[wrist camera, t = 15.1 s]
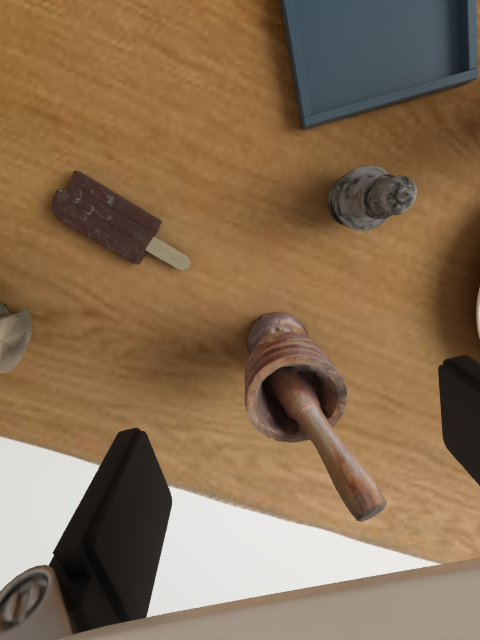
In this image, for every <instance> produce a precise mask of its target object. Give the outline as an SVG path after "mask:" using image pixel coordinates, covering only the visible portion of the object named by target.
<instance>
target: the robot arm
mask: <svg viewBox="0 0 480 640" xmlns="http://www.w3.org/2000/svg"><path fill="white" fill-rule="evenodd" d="M438 375H439V389H440V403H441V418H442V432H443V440H444V443H445V445H446V447H447V449H448V450H449V451H450V453H451V454H452V455H453V456H454V457H455V458H456V459H457V460H458V462H459V463H460V464H461V465H462V466H463V467H464V468H465V470H466V471H467V472H468V473H469V474H470V475H471V476H472V478H473V479H474V480H475V481H476V482H477V483H478V484H479V485H480V363H479V362H477V361H475V360H474V359H472V358H471V357H469V356H467V355H462V356H458V357H453V358H449V359H445V360H444V361H443V365H440V366H439V368H438ZM171 506H172V497H171V493H170V490H169V488H168V485H167V483H166V480H165V478H164V476H163V473H162V471H161V468H160V466H159V463H158V461H157V458H156V456H155V453H154V451H153V449H152V446H151V444H150V441H149V439H148V436H147V434H146V432H145V431H140V429H139V428H133V429H128V430H124V431H120V432H119V433H118V434H117V436H116V438H115V440H114V441H113V443H112V445H111V447H110V449H109V451H108V452H107V454H106V456H105V458H104V460H103V462H102V463H101V465H100V467H99V469H98V471H97V473H96V474H95V477H94V478H93V480H92V482H91V484H90V485H89V487H88V489H87V491H86V493H85V495H84V497H83V499H82V500H81V502H80V504H79V506H78V508H77V509H76V511H75V513H74V515H73V517H72V519H71V520H70V522H69V524H68V526H67V528H66V530H65V531H64V533H63V535H62V537H61V539H60V541H59V542H58V545H57V546H56V548H55V550H54V552H53V554H54V557H53V559H52V560H51V562H50V564H49V566H47V565H42V566H36V567H33V568H31V569H28V570H26V571H25V572H23V573H22V574H20V575H18V576H17V577H15V578H14V579H13V580H12V581H11V582H10V583H8V584H7V585H6V586H5V587H4V588H3V589H2V590H1V591H0V640H480V558H477V559H471V560H465V561H459V562H453V563H447V564H441V565H436V566H430V567H424V568H419V569H412V570H407V571H400V572H395V573H389V574H384V575H378V576H372V577H366V578H361V579H355V580H349V581H344V582H338V583H332V584H327V585H321V586H315V587H310V588H304V589H298V590H293V591H287V592H282V593H276V594H270V595H266V596H260V597H255V598H249V599H244V600H238V601H232V602H227V603H221V604H216V605H211V606H205V607H200V608H194V609H189V610H183V611H178V612H173V613H167V614H162V615H158V616H152V617H148V618H146V616H147V612H148V608H149V603H150V599H151V595H152V590H153V586H154V581H155V577H156V572H157V568H158V563H159V559H160V555H161V551H162V546H163V542H164V537H165V533H166V529H167V524H168V520H169V516H170V511H171Z"/></svg>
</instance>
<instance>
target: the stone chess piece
mask: <svg viewBox="0 0 480 640" xmlns="http://www.w3.org/2000/svg"><path fill="white" fill-rule="evenodd" d="M416 194H417V191H416V186H415V184H414V182H413V181H412V180H411V179H410V178H408V177H406V176H393V175H390V174H389V173H387V172H386V171H385V170H384V169H382V168H380V167H377V166H371V165H366V166H361V167H358V168H356V169H354V170H352V171H350V172H349V173H348V174H347V175H345V176H343V177H342V178H340V179H339V180H338V181H337V182H336V183H335V184H334V186H333V187H332V189H331V191H330V194H329V199H328V205H329V210H330V213H331V215H332V216H333V218H334V219H335V220H336V221H337V222H339V223H340V224H343V225H346V226H347V227H349V228H352V229H354V230H362V231H365V230H369V229H373V228H375V227H377V226H379V225H380V224H381V223H383V222H384V221H385V220H386V219H387V218H388V217H390V216H392V215H399V214H401V213H403V212H405V211H407V210H408V209H409V208H410V207H411V206H412V205H413V203H414V201H415V199H416Z"/></svg>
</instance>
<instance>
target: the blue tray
mask: <svg viewBox="0 0 480 640" xmlns="http://www.w3.org/2000/svg"><path fill="white" fill-rule="evenodd" d="M280 4H281V9H282V15H283V21H284V27H285V33H286V39H287V45H288V50H289V56H290V62H291V68H292V74H293V80H294V85H295V91H296V97H297V103H298V109H299V115H300V121H301V126H302V130H305V129H308V128H312V127H315V126H319V125H323V124H326V123H330V122H333V121H337V120H340V119H344V118H348V117H351V116H355V115H358V114H362V113H365V112H369V111H372V110H376V109H380V108H383V107H387V106H390V105H394V104H397V103H401V102H404V101H408V100H412V99H415V98H419V97H422V96H426V95H429V94H433V93H437V92H440V91H444V90H447V89H451V88H454V87H458V86H461V85H465V84H468V83H469V82H471V81H473V80H475V79H476V78H478V68H477V67H478V58H477V11H476V0H280Z"/></svg>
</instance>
